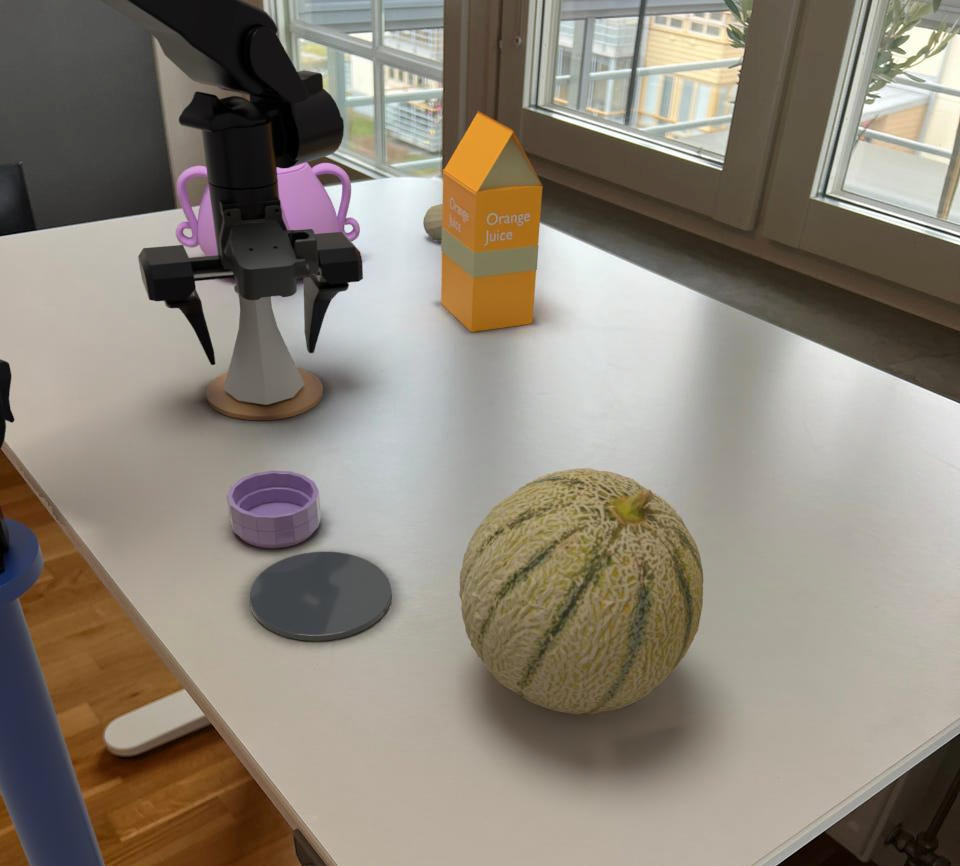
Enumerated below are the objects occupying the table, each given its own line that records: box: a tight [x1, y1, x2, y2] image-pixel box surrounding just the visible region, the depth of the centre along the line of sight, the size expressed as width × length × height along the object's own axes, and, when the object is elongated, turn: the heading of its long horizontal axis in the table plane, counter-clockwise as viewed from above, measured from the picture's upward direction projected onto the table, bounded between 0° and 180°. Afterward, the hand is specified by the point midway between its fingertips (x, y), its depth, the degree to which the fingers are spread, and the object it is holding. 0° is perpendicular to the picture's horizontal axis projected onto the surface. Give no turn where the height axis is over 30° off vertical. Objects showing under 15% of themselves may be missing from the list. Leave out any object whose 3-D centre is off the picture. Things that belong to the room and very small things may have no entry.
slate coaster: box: [248, 551, 392, 642], centre depth 71 cm, size 10×10×1 cm
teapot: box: [175, 162, 361, 256], centre depth 117 cm, size 22×22×14 cm
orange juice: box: [440, 110, 544, 333], centre depth 106 cm, size 8×9×20 cm
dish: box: [226, 470, 322, 549], centre depth 77 cm, size 7×7×3 cm
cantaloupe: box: [459, 467, 704, 715], centre depth 60 cm, size 15×15×15 cm
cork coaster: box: [205, 367, 324, 421], centre depth 95 cm, size 11×11×1 cm
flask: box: [223, 284, 305, 405], centre depth 92 cm, size 7×7×10 cm
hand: (262, 357), depth 93 cm, fingers open, 9 cm apart
